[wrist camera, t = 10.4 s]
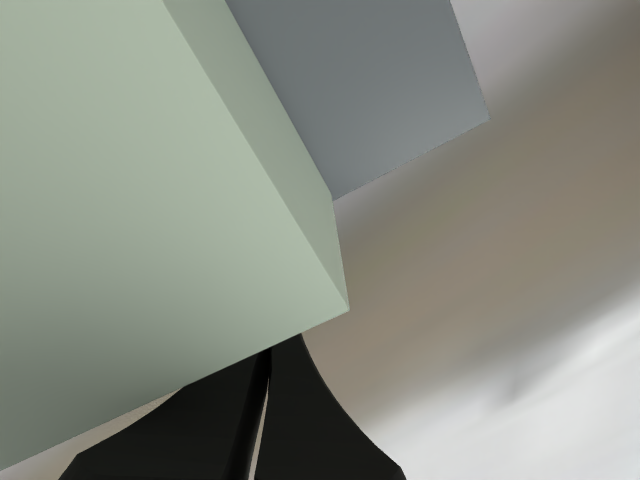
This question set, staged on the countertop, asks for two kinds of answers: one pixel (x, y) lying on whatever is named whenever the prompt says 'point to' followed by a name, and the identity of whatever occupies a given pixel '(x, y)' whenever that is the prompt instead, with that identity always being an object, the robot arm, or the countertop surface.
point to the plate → (365, 79)
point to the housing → (144, 212)
